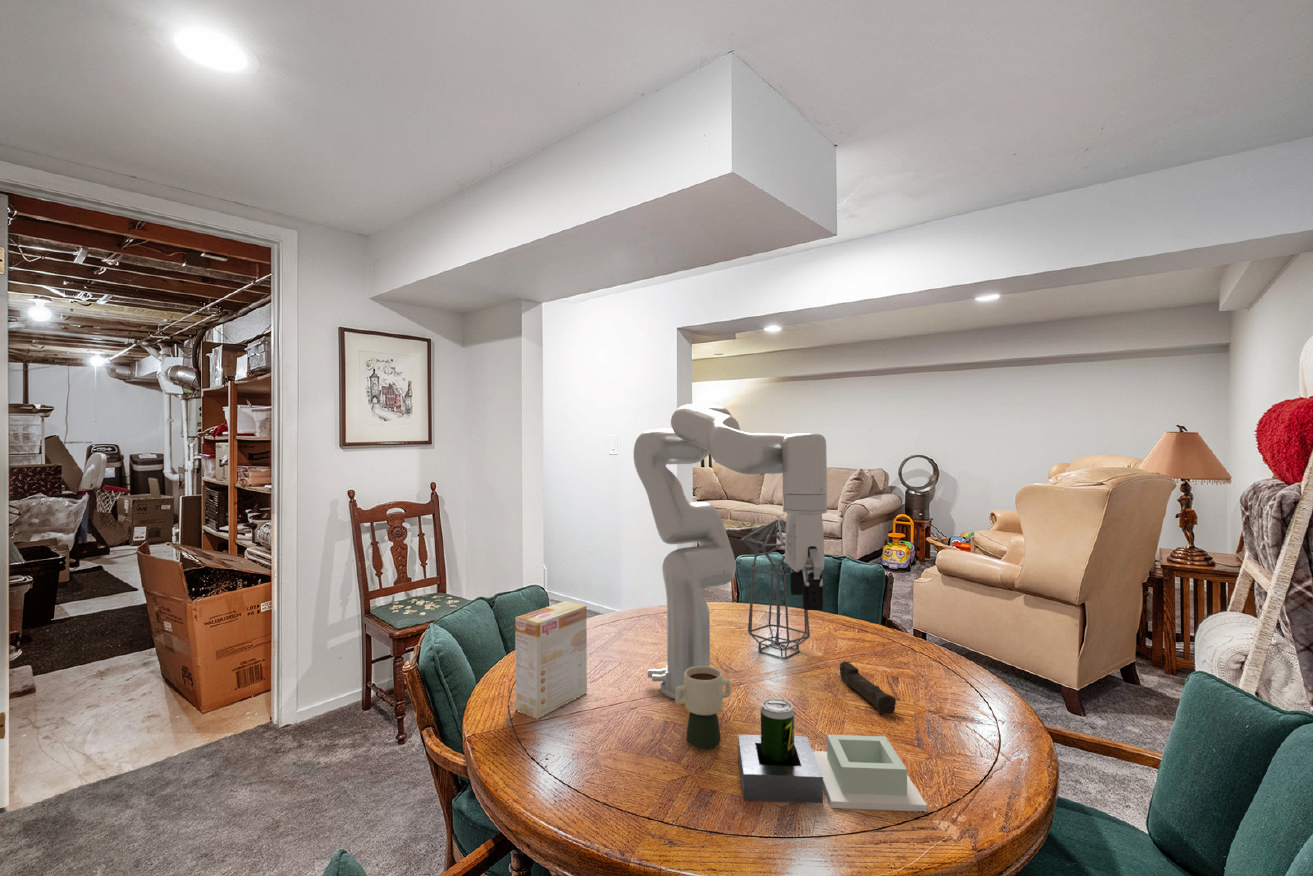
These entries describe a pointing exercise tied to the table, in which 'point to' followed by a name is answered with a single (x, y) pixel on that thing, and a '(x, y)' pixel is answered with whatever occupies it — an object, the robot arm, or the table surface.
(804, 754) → the socket block
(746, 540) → the geometric lantern
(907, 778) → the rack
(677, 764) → the table surface
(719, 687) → the character mug
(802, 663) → the table surface
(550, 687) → the coffeecake box
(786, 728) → the beer can
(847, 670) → the hand tool
